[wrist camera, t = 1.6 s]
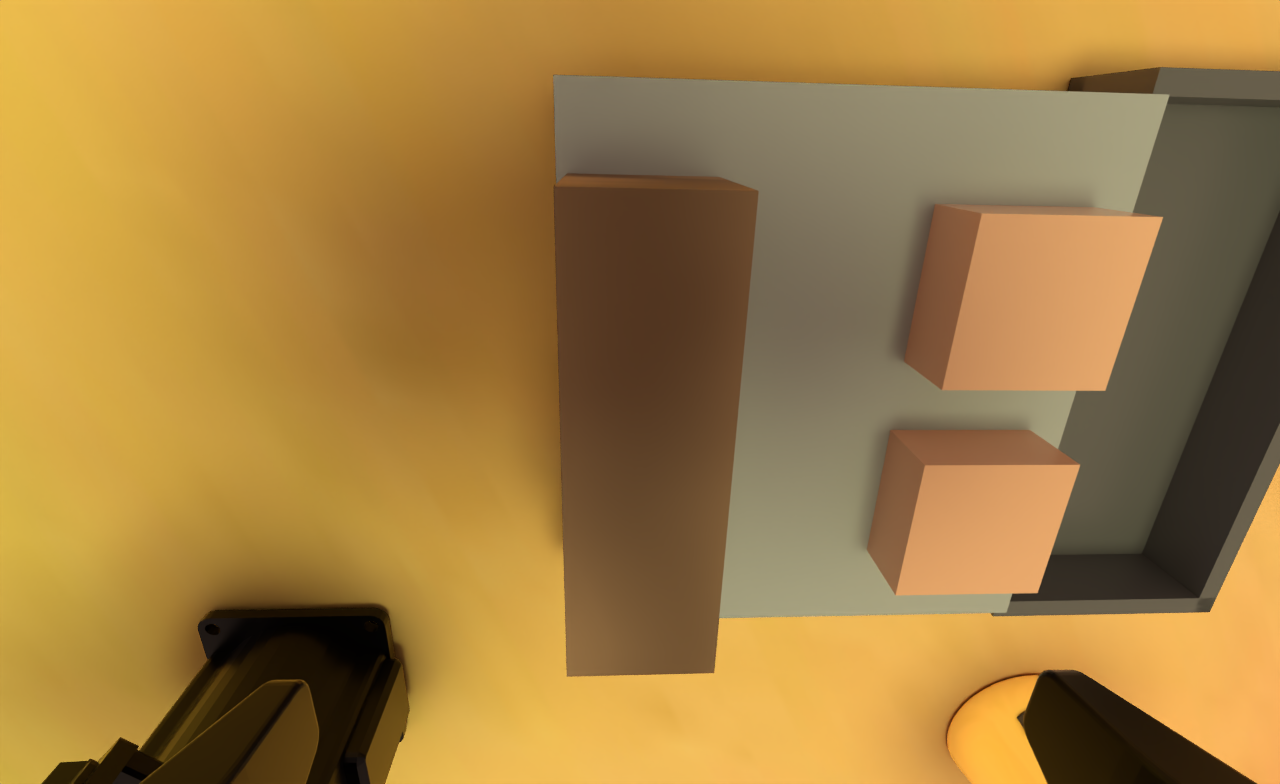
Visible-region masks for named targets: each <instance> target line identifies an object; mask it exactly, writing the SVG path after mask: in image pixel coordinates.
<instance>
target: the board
mask: <svg viewBox="0 0 1280 784" xmlns="http://www.w3.org/2000/svg"><path fill="white" fill-rule="evenodd" d="M553 79H554V119H555V158H556V184H557V183H558V182H559V181H560V180H561V179H562V178H563V177H564V176H565V175H566V174H567V173H576V174H620V175H663V176H707V177H721V178H724V179H727V180H730V181H732V182H735V183H738V184H741V185H744V186H746V187H749V188H752V189H755V190H758V191H759V194H758V205H757V215H756V226H755V237H754V248H753V259H752V269H751V280H750V291H749V302H748V312H747V323H746V334H745V345H744V355H743V366H742V377H741V388H740V399H739V409H738V420H737V431H736V442H735V452H734V463H733V474H732V485H731V496H730V506H729V517H728V528H727V539H726V549H725V560H724V571H723V582H722V592H721V603H720V614H719V618H749V617H802V616H856V615H909V614H962V613H1006V612H1007V609H1008V606H1009V603H1010V600H1011V597H1012V594H953V595H895V594H894V592H893V591H892V589H891V588H890V586H889V584H888V583H887V581H886V580H885V578H884V576H883V575H882V573H881V572H880V570H879V569H878V567H877V565H876V564H875V562H874V561H873V559H872V558H871V556H870V554H869V553H868V551H867V546H868V541H869V536H870V531H871V526H872V521H873V516H874V511H875V505H876V500H877V495H878V490H879V485H880V480H881V475H882V470H883V465H884V460H885V455H886V450H887V445H888V440H889V435H890V430H1031V431H1032V432H1034V433H1035V434H1037V435H1038V436H1039V437H1041V438H1042V439H1044V440H1045V441H1047V442H1048V443H1050V444H1051V445H1052V446H1054V447H1055V448H1057V449H1058V447H1059V444H1060V441H1061V438H1062V435H1063V432H1064V428H1065V425H1066V422H1067V419H1068V416H1069V413H1070V409H1071V406H1072V403H1073V400H1074V397H1075V394H1076V391H1020V390H941V389H940V388H938V387H937V386H936V385H934V384H933V383H932V382H930V381H929V380H928V379H926V378H925V377H924V376H922V375H921V374H920V373H918V372H917V371H916V370H914V369H913V368H912V367H910V366H909V365H908V364H906V363H905V362H904V359H905V353H906V348H907V343H908V338H909V333H910V328H911V323H912V318H913V313H914V308H915V303H916V298H917V293H918V288H919V282H920V277H921V272H922V267H923V262H924V257H925V252H926V247H927V242H928V237H929V232H930V227H931V222H932V217H933V212H934V206H935V204H965V205H1013V206H1061V207H1097V208H1104V209H1111V210H1118V211H1124V212H1131V213H1133V210H1134V206H1135V203H1136V200H1137V197H1138V194H1139V191H1140V187H1141V184H1142V181H1143V178H1144V175H1145V172H1146V168H1147V165H1148V162H1149V159H1150V156H1151V152H1152V149H1153V146H1154V143H1155V140H1156V137H1157V133H1158V130H1159V127H1160V124H1161V121H1162V118H1163V114H1164V111H1165V108H1166V105H1167V102H1168V99H1169V95H1168V94H1137V93H1105V92H1074V91H1043V90H1012V89H981V88H950V87H919V86H888V85H857V84H825V83H794V82H763V81H732V80H701V79H670V78H639V77H608V76H577V75H553Z"/></svg>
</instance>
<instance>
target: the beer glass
mask: <svg viewBox="0 0 1280 784" xmlns="http://www.w3.org/2000/svg"><path fill="white" fill-rule="evenodd" d="M1038 677H1039V675H1025V676H1018V677H1013V678H1009V679H1006V680H1003V681H1000V682H997V683H995V684H993V685H991V686H989V687H987V688H985V689H983V690H981V691H980V692H978V693H977V694H975V695H974V696H973V697H971V698H970V699H969V700H968V701H967V702H966V703H965V704H964V705H963V706H962V707H961V708H960V709H959V710H958V712H957V713H956V714H955V716H954V718H953V719H952V721H951V724H950V726H949V729H948V733H947V746H948V750H949V753H950V755H951V757H952V759H953V760H954V762H955V764H956V765H957V766H958V768H959V769H960V770H961V771H962V773H963V774H964V775H965V776H966V778H967V779H968V780H969V781H970V782H971V784H1047V782H1046V780H1045V778H1044V775H1043V773H1042V771H1041V769H1040V766H1039V764H1038V762H1037V760H1036V758H1035V755H1034V753H1033V751H1032V749H1031V746H1030V744H1029V742H1028V740H1027V737H1026V734H1025V730H1024V724H1023V717H1024V713H1025V710H1026V707H1027V705H1028V702H1029V699H1030V697H1031V694H1032V691H1033V689H1034V686H1035V683H1036V681H1037V678H1038Z"/></svg>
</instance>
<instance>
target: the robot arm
mask: <svg viewBox="0 0 1280 784" xmlns="http://www.w3.org/2000/svg"><path fill="white" fill-rule="evenodd" d="M369 621H374V622H375V623H377V624H372V623H371V622H369ZM214 624H215V625H217V626H215V625H214ZM198 631H199V634H200V638H201V641H202V644H203V647H204V650H205V653H206V657H207V662H206V663H205V664H204V665H203V667H202V668H201V669H200V671H199V672H198V673H197V675H196V676H195V677H194V679H193V680H192V681H191V683H190V684H189V685H188V687H187V688H186V689H185V691H184V692H183V693H182V695H181V696H180V697H179V698H178V700H177V701H176V702H175V704H174V705H173V706H172V708H171V709H170V710H169V712H168V713H167V714H166V716H165V717H164V718H163V720H162V721H161V722H160V724H159V725H158V726H157V728H156V729H155V730H154V731H153V733H152V734H151V735H150V737H149V738H148V739H147V741H146V742H145V743H144V745H143V746H142V747H141V749H140V750H139V751H138V750H137V748H138V747H139V746H138V745H136V744H134V743H131V742H129V741H127V740H125V739H123V738H121V737H120V738H119V739H118V740H117V741H116V742H115V744H114V745H113V746H112V747H111V748H110V749H109V750H108V751H107V752H106V753H105V754H104V755H103V757H102V758H101V759H100V760H99V761H98V762H97V761H95V760H92V759H89V760H88V761H79V762H60V763H59V765H58V766H57V767H56V768H55V769H54V770H53V771H52V772H51V773H50V775H49V776H48V777H47V778H46V779H45V780H44V781H43V783H42V784H385V782H386V779H387V776H388V773H389V770H390V767H391V764H392V761H393V758H394V756H395V753H396V750H397V747H398V744H399V742H401V741H402V740H403V738H404V735H405V732H406V727H407V726H406V720H407V717H408V714H409V703H408V696H407V690H406V684H405V678H404V671H403V665H402V663H401V662H400V661H399V660H398V659H395V653H394V647H393V641H392V634H391V628H390V622H389V618H388V615H387V614H386V613H385V612H384V611H383V610H381V609H379V608H330V609H272V610H216V611H210V612H209V613H207V614H206V615H205V616H204V618H203V619H202V620H201V621H200V623H199V624H198ZM1023 724H1024V730H1025V734H1026V737H1027V740H1028V742H1029V744H1030V746H1031V749H1032V751H1033V753H1034V755H1035V758H1036V760H1037V762H1038V764H1039V766H1040V769H1041V771H1042V773H1043V775H1044V778H1045V780H1046V782H1047V784H1257V783H1255V782H1254V781H1252V780H1251V779H1249V778H1247V777H1246V776H1244V775H1243V774H1241V773H1240V772H1238V771H1236V770H1235V769H1233V768H1232V767H1230V766H1228V765H1227V764H1225V763H1224V762H1222V761H1221V760H1219V759H1217V758H1216V757H1214V756H1213V755H1211V754H1210V753H1208V752H1206V751H1205V750H1203V749H1202V748H1200V747H1199V746H1197V745H1195V744H1194V743H1192V742H1191V741H1189V740H1187V739H1186V738H1184V737H1183V736H1181V735H1180V734H1178V733H1176V732H1175V731H1173V730H1172V729H1170V728H1169V727H1167V726H1165V725H1164V724H1162V723H1161V722H1159V721H1158V720H1156V719H1154V718H1153V717H1151V716H1150V715H1148V714H1146V713H1145V712H1143V711H1142V710H1140V709H1139V708H1137V707H1135V706H1134V705H1132V704H1131V703H1129V702H1128V701H1126V700H1124V699H1123V698H1121V697H1120V696H1118V695H1116V694H1115V693H1113V692H1112V691H1110V690H1109V689H1107V688H1105V687H1104V686H1102V685H1101V684H1099V683H1098V682H1096V681H1094V680H1093V679H1091V678H1090V677H1088V676H1086V675H1085V674H1083V673H1081V672H1079V671H1075V670H1047V671H1044V672H1042V673H1041V674H1040V675H1039V677H1038V678H1037V681H1036V683H1035V686H1034V689H1033V691H1032V694H1031V697H1030V699H1029V702H1028V705H1027V707H1026V710H1025V713H1024V717H1023Z"/></svg>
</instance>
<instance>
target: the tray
mask: <svg viewBox="0 0 1280 784" xmlns="http://www.w3.org/2000/svg"><path fill="white" fill-rule="evenodd" d="M1068 91H1074V92H1105V93H1137V94H1168V95H1169V99H1168V102H1167V105H1166V108H1165V111H1164V114H1163V118H1162V121H1161V124H1160V127H1159V130H1158V133H1157V137H1156V140H1155V143H1154V146H1153V149H1152V152H1151V156H1150V159H1149V162H1148V165H1147V168H1146V172H1145V175H1144V178H1143V181H1142V184H1141V187H1140V191H1139V194H1138V197H1137V200H1136V203H1135V206H1134V210H1133V213H1138V214H1145V215H1152V216H1159V217H1163V219H1162V222H1161V225H1160V228H1159V231H1158V234H1157V237H1156V240H1155V243H1154V246H1153V249H1152V252H1151V255H1150V258H1149V261H1148V264H1147V267H1146V270H1145V273H1144V276H1143V279H1142V282H1141V285H1140V288H1139V291H1138V294H1137V297H1136V300H1135V303H1134V306H1133V309H1132V312H1131V315H1130V318H1129V321H1128V324H1127V327H1126V330H1125V333H1124V336H1123V339H1122V342H1121V345H1120V348H1119V351H1118V354H1117V357H1116V360H1115V363H1114V366H1113V369H1112V372H1111V375H1110V378H1109V381H1108V384H1107V387H1106V390H1105V391H1076V394H1075V397H1074V400H1073V403H1072V406H1071V409H1070V413H1069V416H1068V419H1067V422H1066V425H1065V428H1064V432H1063V435H1062V438H1061V441H1060V444H1059V447H1058V450H1060V451H1061V452H1063V453H1064V454H1066V455H1067V456H1068V457H1070V458H1071V459H1073V460H1074V461H1076V462H1077V463H1079V464H1080V468H1079V471H1078V474H1077V477H1076V480H1075V483H1074V486H1073V489H1072V491H1071V494H1070V497H1069V500H1068V503H1067V506H1066V509H1065V512H1064V515H1063V518H1062V521H1061V524H1060V527H1059V530H1058V533H1057V536H1056V539H1055V542H1054V545H1053V548H1052V551H1051V554H1050V557H1049V560H1048V563H1047V566H1046V569H1045V572H1044V575H1043V578H1042V581H1041V584H1040V587H1039V590H1038V593H1012V597H1011V600H1010V603H1009V606H1008V609H1007V612H1006V613H991V615H992V616H1033V615H1085V614H1137V613H1189V612H1210V610H1211V608H1212V606H1213V604H1214V601H1215V599H1216V597H1217V595H1218V593H1219V591H1220V589H1221V587H1222V585H1223V582H1224V580H1225V578H1226V576H1227V574H1228V572H1229V570H1230V568H1231V566H1232V563H1233V561H1234V559H1235V557H1236V555H1237V553H1238V551H1239V549H1240V546H1241V544H1242V542H1243V540H1244V538H1245V536H1246V534H1247V532H1248V530H1249V527H1250V525H1251V523H1252V521H1253V519H1254V517H1255V515H1256V513H1257V510H1258V508H1259V506H1260V504H1261V502H1262V500H1263V498H1264V496H1265V494H1266V491H1267V489H1268V487H1269V485H1270V483H1271V481H1272V479H1273V477H1274V475H1275V472H1276V470H1277V468H1278V466H1279V464H1280V71H1252V70H1223V69H1195V68H1166V67H1159V68H1151V69H1143V70H1135V71H1127V72H1119V73H1111V74H1103V75H1094V76H1086V77H1078V78H1071V81H1070V84H1069V88H1068Z"/></svg>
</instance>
